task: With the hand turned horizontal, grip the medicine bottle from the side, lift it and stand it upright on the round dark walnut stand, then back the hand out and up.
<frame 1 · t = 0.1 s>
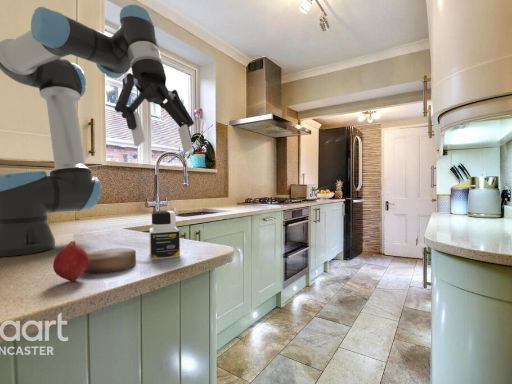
hand: (166, 147, 63), 28 cm above the counter, tool tilted 20°, fingers open, 13 cm apart
onion: (72, 282, 53), on the counter
walnut stand: (110, 266, 63), on the counter
medicine bottle: (164, 256, 73), on the counter
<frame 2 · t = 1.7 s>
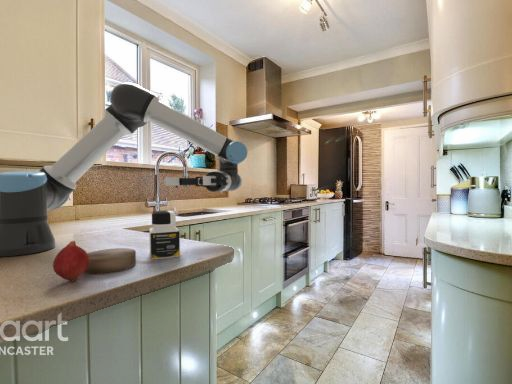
hand: (184, 181, 81), 20 cm above the counter, tool horizontal, fingers open, 13 cm apart
nothing on the counter moved.
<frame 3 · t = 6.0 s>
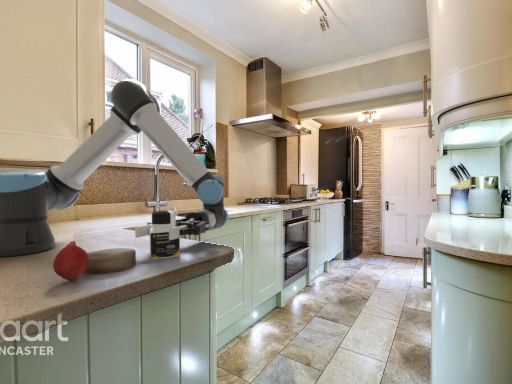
hand: (152, 233, 69), 7 cm above the counter, tool horizontal, fingers closed on medicine bottle, 10 cm apart
medicine bottle: (164, 256, 73), on the counter, touching gripper
everything else where it was.
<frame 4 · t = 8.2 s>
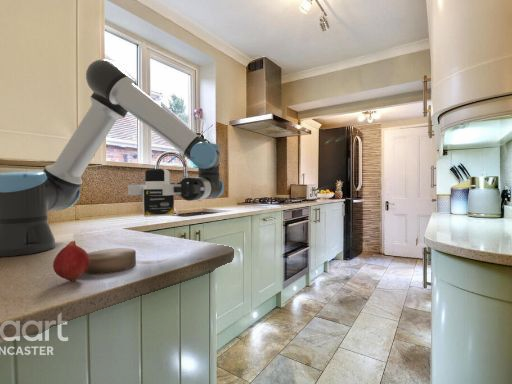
hand: (146, 189, 67), 18 cm above the counter, tool horizontal, fingers closed on medicine bottle, 10 cm apart
medicine bottle: (158, 215, 71), point 11 cm above the counter, touching gripper
everything else where it was.
when the fingers open (11 cm above the counter, at t = 10.7 s): medicine bottle drops 1 cm, resting on walnut stand.
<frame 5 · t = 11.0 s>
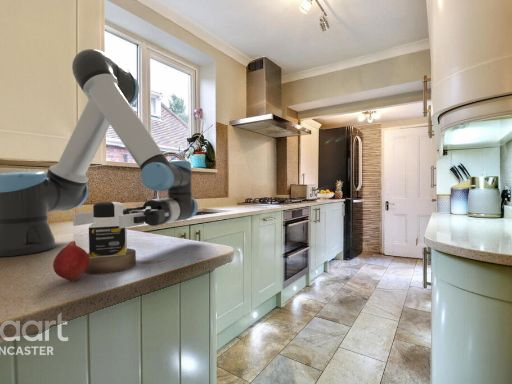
hand: (96, 220, 60), 11 cm above the counter, tool horizontal, fingers open, 13 cm apart
medicine bottle: (109, 254, 63), point 3 cm above the counter, touching walnut stand
everything else where it was.
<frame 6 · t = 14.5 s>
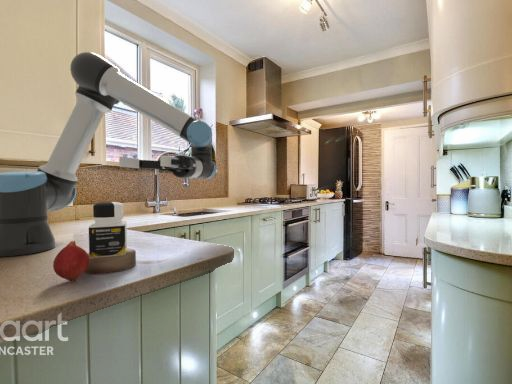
hand: (140, 161, 72), 25 cm above the counter, tool horizontal, fingers open, 13 cm apart
nothing on the counter moved.
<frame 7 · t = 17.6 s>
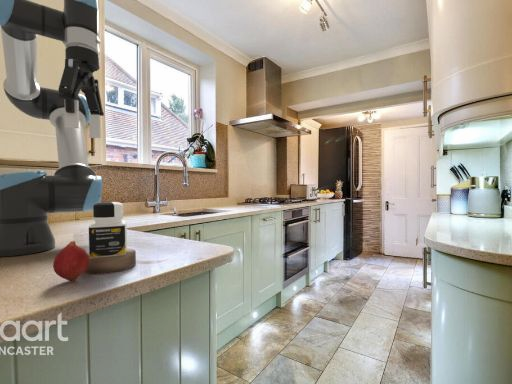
hand: (84, 133, 71), 33 cm above the counter, tool pointing down, fingers open, 13 cm apart
nothing on the counter moved.
at the end: medicine bottle inside the target area on the walnut stand (0.1 cm from its centre), point 2.8 cm above the walnut stand's base; medicine bottle tilted 0°; the gripper is holding nothing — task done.
